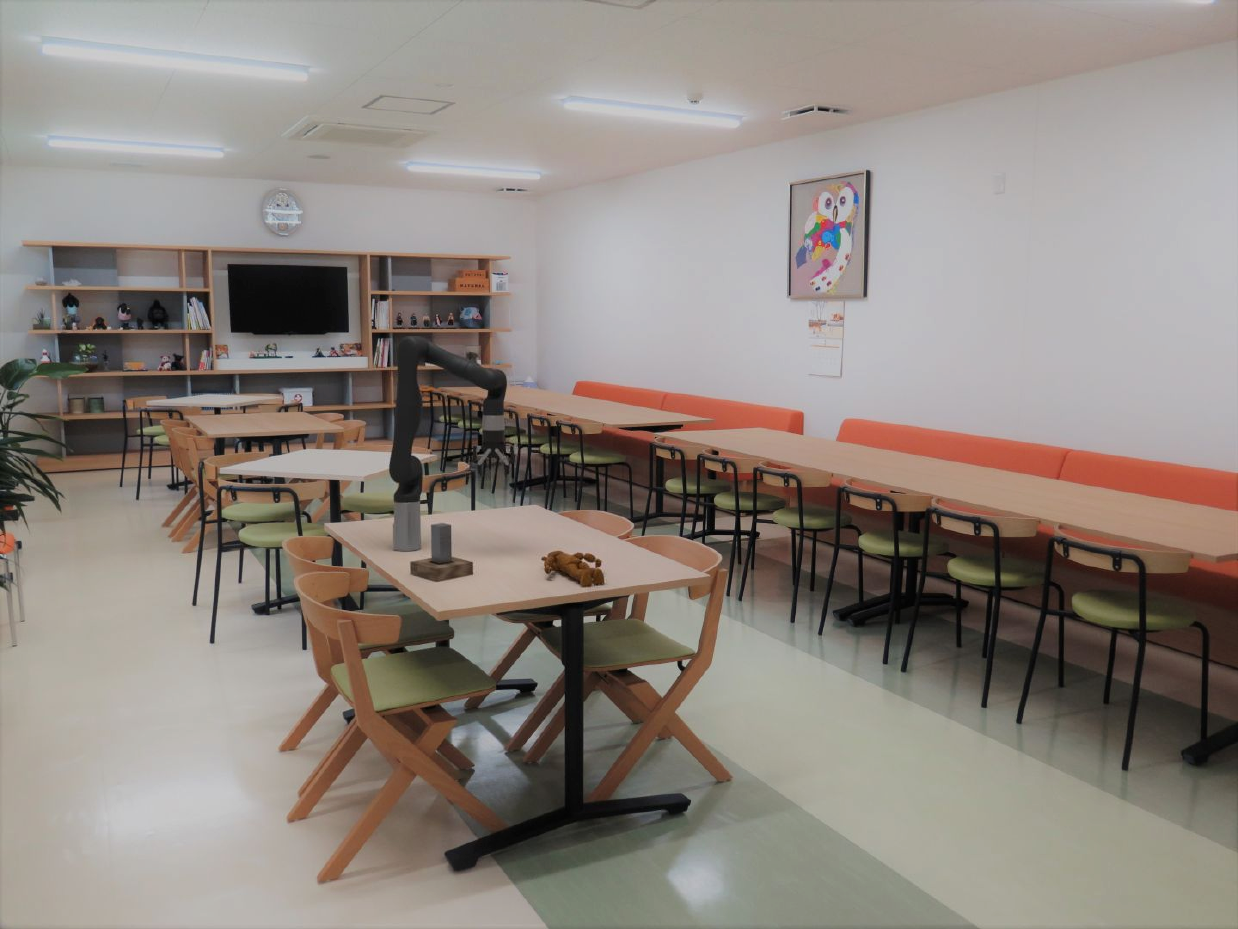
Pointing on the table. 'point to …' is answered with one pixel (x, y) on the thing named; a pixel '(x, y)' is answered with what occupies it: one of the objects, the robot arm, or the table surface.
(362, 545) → the table surface
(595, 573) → the toy
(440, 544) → the post
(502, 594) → the table surface
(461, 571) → the wooden block with hole
